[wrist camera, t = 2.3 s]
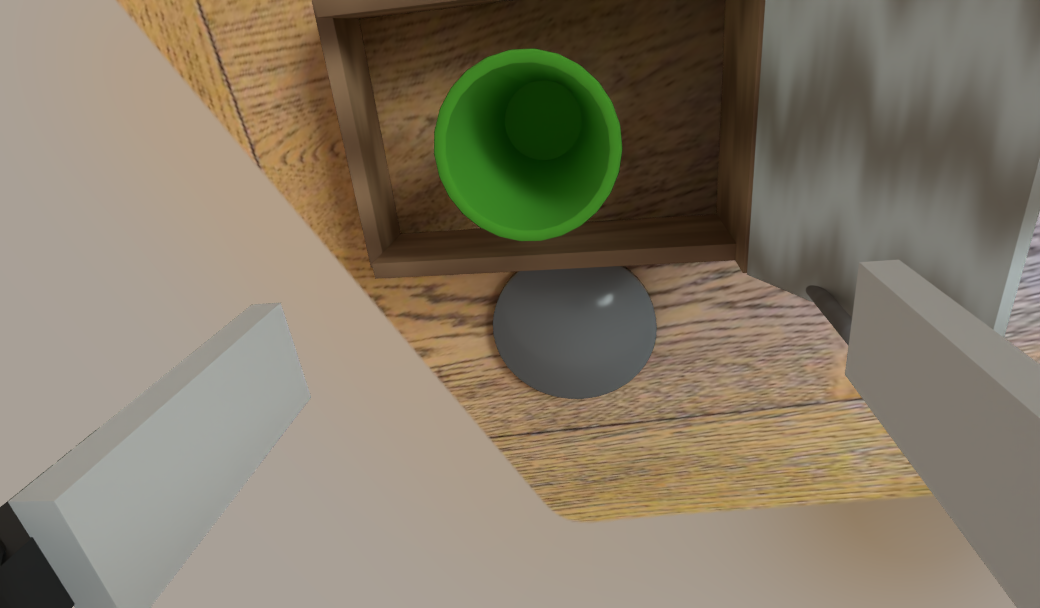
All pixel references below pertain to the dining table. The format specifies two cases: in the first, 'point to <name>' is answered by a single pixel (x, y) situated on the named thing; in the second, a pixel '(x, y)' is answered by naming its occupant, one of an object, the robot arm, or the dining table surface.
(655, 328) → the gray round coaster
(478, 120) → the cup
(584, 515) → the dining table surface
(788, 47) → the cold frame
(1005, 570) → the robot arm
